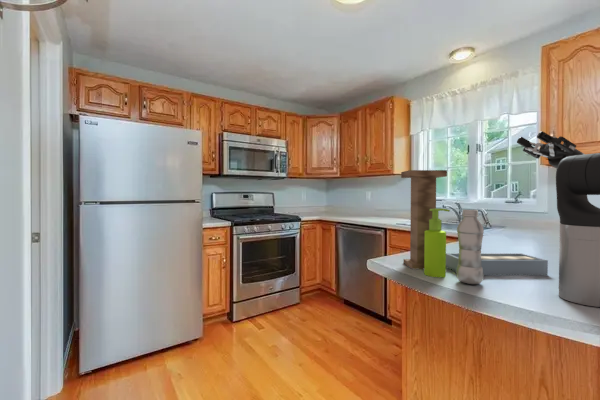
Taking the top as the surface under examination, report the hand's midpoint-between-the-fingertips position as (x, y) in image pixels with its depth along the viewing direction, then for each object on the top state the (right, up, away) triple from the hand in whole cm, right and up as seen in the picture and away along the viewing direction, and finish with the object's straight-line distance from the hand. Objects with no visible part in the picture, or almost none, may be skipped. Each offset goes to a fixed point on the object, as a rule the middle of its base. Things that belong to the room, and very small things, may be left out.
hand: (528, 136), depth 96 cm
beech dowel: (-11, -42, -2) cm, 44 cm away
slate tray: (-13, -43, -2) cm, 45 cm away
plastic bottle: (-28, -43, -15) cm, 54 cm away
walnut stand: (-33, -43, +4) cm, 54 cm away
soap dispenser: (-33, -43, -7) cm, 55 cm away
